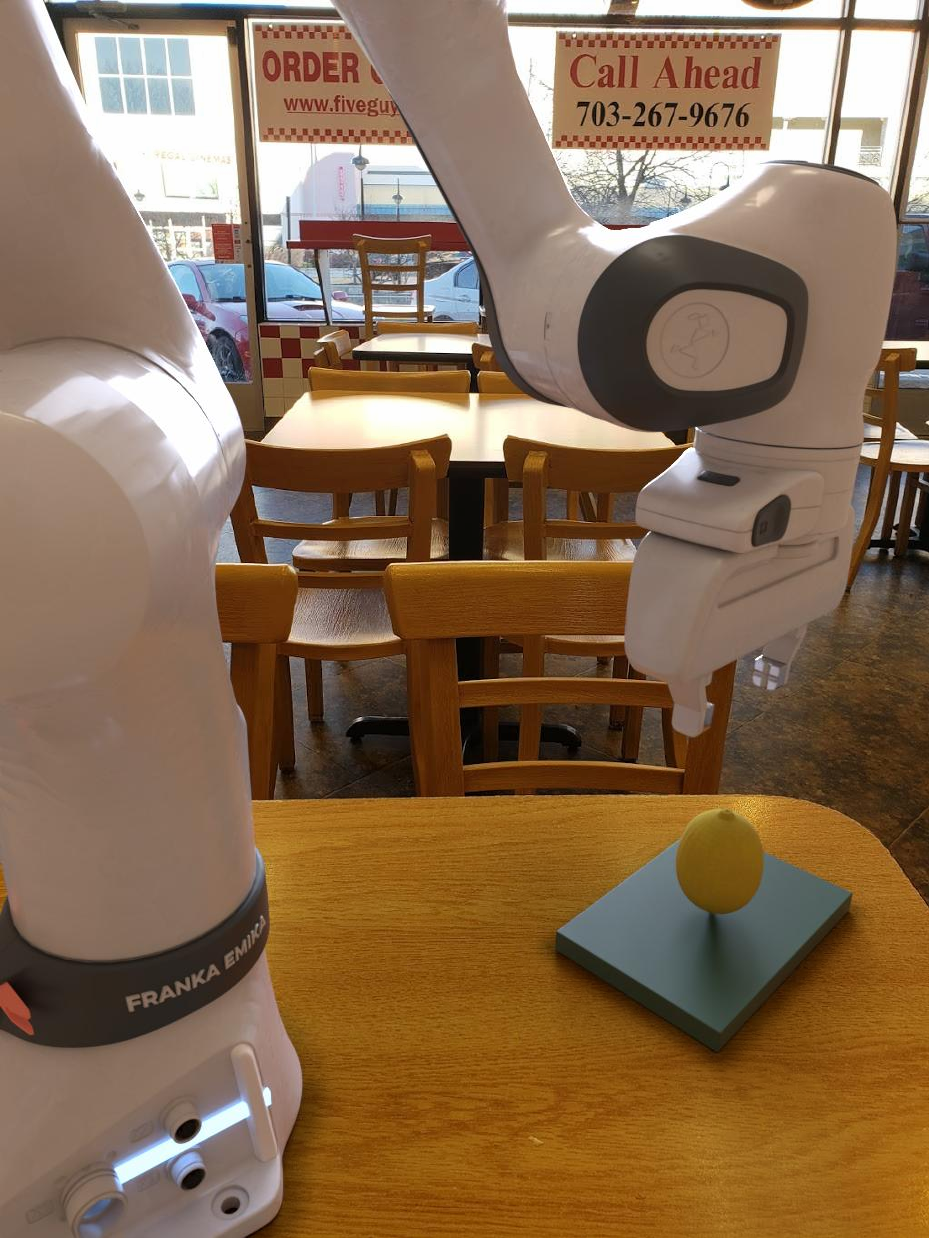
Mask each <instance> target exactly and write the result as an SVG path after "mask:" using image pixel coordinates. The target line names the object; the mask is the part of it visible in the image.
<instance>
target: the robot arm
mask: <svg viewBox="0 0 929 1238" xmlns="http://www.w3.org/2000/svg"><path fill="white" fill-rule="evenodd" d="M329 1H330V3H331V4H332V5H333V7H334V9H335V10H336V12H337V13H338V15H339V16H340V18H341V19H342V21H343V23H344V25H345V26H346V27H347V29H348V30H349V32H350V34H351V35H352V37H353V38H354V40H355V41H356V43H357V45H358V46H359V48H360V50H361V51H362V52H363V55H364V56H365V57H366V59H367V60H368V62H369V63H370V65H371V66H372V68H373V70H374V71H375V72H376V74H377V75H378V78H380V80H381V82H382V83H383V85H384V86H385V88H386V91H387V92H388V93H389V96H390V99H391V100H392V102H393V104H394V106H395V108H396V110H397V112H398V114H399V116H400V118H401V120H402V122H403V124H404V126H405V128H406V129H407V132H408V133H409V135H410V137H411V140H412V141H413V143H414V144H415V147H416V148H417V150H418V152H419V155H420V156H421V158H422V160H423V162H424V164H425V165H426V168H427V170H428V171H429V174H430V176H431V178H432V179H433V181H434V183H435V185H436V187H437V188H438V191H439V193H440V195H441V196H442V199H443V200H444V202H445V204H446V206H447V208H448V210H449V212H450V213H451V215H452V217H453V219H454V221H455V223H456V225H457V227H458V229H459V231H460V233H461V234H462V237H463V238H464V240H465V243H466V244H467V247H468V249H469V251H470V253H471V256H472V258H473V261H474V263H475V266H476V270H477V273H478V277H479V282H480V286H481V291H482V298H483V299H482V300H483V305H484V313H485V321H486V328H487V333H488V338H489V341H490V345H491V349H492V352H493V355H494V357H495V359H496V361H497V363H498V366H499V367H500V369H501V370H502V372H503V374H504V375H505V376H506V377H507V379H508V380H509V381H510V382H511V383H512V384H513V385H514V386H515V387H516V388H517V389H518V390H520V391H521V392H522V393H524V394H525V395H527V396H528V397H530V398H532V399H534V400H536V401H539V402H541V403H544V404H548V405H551V406H558V407H563V408H567V409H572V410H574V411H577V412H580V413H581V414H584V415H587V416H590V417H592V418H594V419H597V420H600V421H604V422H607V423H609V424H612V425H615V426H617V427H620V428H622V429H626V430H630V431H634V432H640V433H665V432H674V431H675V432H677V431H683V430H688V429H695V432H694V438H693V445H692V447H689V448H688V449H686V450H685V451H683V453H682V454H681V456H679V457H678V459H677V460H676V461H675V462H674V463H673V464H671V466H670V467H668V468H667V469H666V470H665V471H664V472H662V473H660V475H658V476H657V477H656V478H654V479H652V480H651V481H650V482H648V484H646V485H645V486H644V487H643V488H642V489H641V490H640V492H639V493H638V496H637V499H636V503H635V515H634V517H635V523H636V525H637V526H638V527H639V528H641V529H646V530H649V531H648V532H647V534H645V536H643V538H642V540H640V543H639V545H638V547H637V549H636V552H635V554H634V558H633V562H632V567H631V572H630V579H629V586H628V595H627V603H626V613H625V625H624V640H623V645H624V653H625V656H626V658H627V660H628V662H629V664H630V665H631V667H632V669H633V670H635V672H638V673H641V674H643V675H645V676H647V677H650V678H652V679H655V680H657V681H660V682H662V683H665V684H667V687H668V690H669V692H670V696H671V698H672V701H673V709H672V717H671V725H672V728H673V729H674V731H675V732H678V733H680V734H682V735H684V736H687V737H690V738H696V737H698V736H700V735H702V734H703V733H704V732H706V731H708V730H709V729H710V728H711V727H712V723H713V721H712V718H713V716H714V711H715V704H714V703H712V702H709V701H708V699H707V691H706V687H707V686H709V685H711V683H712V681H713V673H714V672H715V671H718V670H720V669H721V668H723V667H725V666H727V665H729V664H731V663H733V662H735V661H737V660H739V659H741V658H743V657H745V656H747V655H749V654H750V653H753V652H755V651H757V650H759V649H760V648H763V649H762V650H761V653H760V656H758V657H757V658H755V659H754V663H753V672H752V675H751V681H752V684H753V685H754V686H756V687H758V688H762V689H764V690H766V691H769V692H774V691H776V690H778V689H780V688H782V687H783V686H785V685H786V684H788V681H789V675H790V670H791V667H792V666H791V665H792V662H793V661H794V659H795V657H796V655H797V653H798V651H799V649H800V646H801V645H802V643H803V641H804V639H805V637H806V635H807V631H808V625H809V623H812V622H813V621H815V620H817V619H819V618H821V617H823V616H825V615H827V614H830V613H831V612H833V611H835V610H836V609H837V608H838V606H839V605H840V603H841V601H842V599H843V597H844V595H845V593H846V589H847V585H848V580H849V574H850V573H849V572H850V565H851V561H852V553H853V547H854V546H853V545H854V538H855V537H854V536H855V528H856V527H855V526H856V513H855V509H854V507H853V505H852V500H853V494H854V490H855V484H856V479H857V474H858V469H859V463H860V458H861V454H862V450H863V443H864V440H865V439H864V438H865V424H864V413H863V411H864V409H863V408H864V399H865V393H866V390H867V387H868V384H869V382H870V380H871V378H872V376H873V373H874V372H875V369H876V368H877V366H878V364H879V361H880V359H881V355H882V350H883V345H884V340H885V336H886V330H887V325H888V319H889V314H890V309H891V304H892V303H891V301H892V296H893V287H894V282H895V281H894V280H895V274H896V273H895V272H896V263H897V245H898V232H897V228H898V227H897V216H896V211H895V206H894V205H895V204H894V202H893V199H892V196H891V195H890V192H888V191H887V190H886V189H885V188H884V187H882V186H881V185H880V183H879V182H878V181H876V180H874V178H871V177H869V176H867V175H865V174H864V173H861V172H858V171H855V170H853V169H850V168H846V167H843V166H839V165H834V164H831V163H830V164H829V163H817V162H809V161H807V160H799V159H798V160H797V159H775V160H768V161H765V162H760V163H757V164H754V165H753V166H751V167H749V168H748V169H747V171H745V173H744V174H743V175H742V176H741V177H740V179H738V180H737V181H736V182H734V183H733V184H731V185H729V186H728V187H726V188H725V189H724V190H722V191H720V192H718V193H717V194H715V195H713V196H711V197H710V198H708V199H706V200H704V201H702V202H700V203H699V204H696V205H694V206H692V207H690V208H687V209H685V210H683V211H681V212H678V213H676V214H674V215H671V216H668V217H665V218H662V219H660V220H659V219H658V220H656V221H652V222H650V223H649V225H646V226H642V227H640V228H639V227H638V228H627V229H626V228H625V229H621V230H611V229H608V228H607V227H605V226H603V225H602V224H600V223H599V222H597V221H596V220H594V219H593V218H592V217H591V216H590V215H588V214H587V212H585V210H583V209H582V207H581V206H580V205H579V204H578V202H577V201H576V199H575V198H574V197H573V195H572V192H571V191H570V188H569V186H568V184H567V182H566V179H565V177H564V174H563V173H562V170H561V168H560V166H559V163H558V162H557V161H558V160H557V159H556V156H555V154H554V152H553V150H552V147H551V145H550V143H549V140H548V138H547V136H546V133H545V131H544V130H543V127H542V125H541V122H540V120H539V117H538V116H537V113H536V111H535V109H534V106H533V104H532V102H531V100H530V97H529V94H528V92H527V90H526V88H525V85H524V83H523V80H522V79H521V77H520V74H519V71H518V68H517V65H516V61H515V58H514V55H513V49H512V45H511V40H510V38H511V37H510V30H509V15H508V14H509V13H508V12H509V0H329ZM79 88H80V87H79V85H78V83H77V81H76V79H75V76H74V74H73V71H72V69H71V66H70V64H69V61H68V59H67V56H66V54H65V51H64V48H63V47H62V43H61V41H60V39H59V36H58V34H57V31H56V29H55V27H54V23H53V21H52V19H51V17H50V14H49V12H48V9H47V7H46V4H45V2H44V0H0V864H1V870H2V874H3V879H4V880H3V881H4V885H5V891H6V897H5V899H4V902H3V906H2V908H1V910H0V1238H246V1237H247V1236H249V1235H250V1234H253V1233H255V1232H256V1231H258V1230H260V1229H261V1228H263V1227H265V1226H266V1225H267V1224H269V1223H270V1222H271V1221H272V1220H274V1218H275V1217H276V1216H277V1214H278V1213H279V1211H280V1209H281V1206H282V1203H283V1197H284V1168H283V1156H284V1152H285V1148H286V1145H287V1142H288V1140H289V1137H290V1135H291V1133H292V1130H293V1129H294V1126H295V1123H296V1121H297V1118H298V1114H299V1112H300V1106H301V1102H302V1096H303V1072H302V1071H303V1070H302V1066H301V1061H300V1059H299V1055H298V1053H297V1051H296V1048H295V1047H294V1044H293V1043H292V1041H291V1039H290V1037H289V1035H288V1033H287V1030H286V1028H285V1025H284V1022H283V1019H282V1017H281V1014H280V1010H279V1007H278V1004H277V1000H276V996H275V991H274V988H273V983H272V979H271V975H270V970H269V964H268V958H267V952H266V951H267V950H266V945H267V943H268V939H269V935H270V931H271V930H270V928H271V920H270V904H269V893H268V883H267V876H266V866H265V861H264V858H263V856H262V853H261V851H260V850H259V848H258V847H257V846H256V843H255V828H254V813H253V799H252V786H251V784H252V783H251V774H250V773H251V772H250V759H249V758H250V757H249V742H248V725H247V721H246V718H245V715H244V713H243V711H242V709H241V707H240V705H238V702H237V699H236V696H235V692H234V688H233V684H232V680H231V676H230V671H229V667H228V661H227V658H226V652H225V648H224V643H223V637H222V632H221V631H222V629H221V625H220V618H219V614H218V605H217V593H216V568H217V567H216V565H217V558H218V553H219V545H220V540H221V535H222V533H223V528H224V526H225V524H226V523H227V520H228V518H229V516H230V515H231V513H232V511H233V509H234V507H235V505H236V502H237V500H238V498H239V496H240V493H241V491H242V487H243V484H244V479H245V475H246V468H247V466H246V465H247V448H246V447H247V446H246V439H245V435H244V433H245V432H244V428H243V424H242V420H241V417H240V414H239V412H238V411H239V410H238V409H237V406H236V403H235V402H234V399H233V398H232V396H231V393H230V392H229V390H228V389H227V386H226V385H225V383H224V380H223V379H222V376H221V374H220V372H219V370H218V367H217V366H216V363H215V361H214V359H213V357H212V355H211V353H210V351H209V347H207V344H206V342H205V339H204V338H203V336H202V334H201V331H200V329H199V327H198V325H197V323H196V321H195V319H194V317H193V315H192V313H191V311H190V309H189V307H188V305H187V303H186V300H185V299H184V296H183V295H182V293H181V291H180V288H179V287H178V284H177V282H176V281H175V278H174V277H173V275H172V272H171V271H170V269H169V267H168V265H167V263H166V261H165V259H164V258H163V255H162V253H161V252H160V250H159V248H158V246H157V244H156V242H155V240H154V238H153V236H152V234H151V232H150V231H149V228H148V227H147V225H146V223H145V221H144V219H143V218H142V216H141V213H140V212H139V209H138V208H137V207H136V204H135V203H134V201H133V199H132V197H131V195H130V193H129V192H128V189H127V188H126V186H125V184H124V182H123V181H122V178H121V176H120V175H119V173H118V171H117V169H116V168H115V165H114V163H113V161H112V159H111V157H110V155H109V153H108V151H107V148H106V146H105V145H104V143H103V141H102V138H101V136H100V134H99V132H98V130H97V127H96V125H95V123H94V120H93V118H92V116H91V114H90V111H89V109H88V107H87V104H86V102H85V100H84V98H83V95H82V93H81V91H80V89H79ZM234 1208H235V1209H237V1210H236V1211H234V1212H233V1213H225V1212H226V1211H228V1210H229V1209H234Z"/></svg>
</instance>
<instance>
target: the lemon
mask: <svg viewBox="0 0 929 1238" xmlns="http://www.w3.org/2000/svg"><path fill="white" fill-rule="evenodd" d="M679 839H680V841H679V844H678V848H677V855H676V874H677V878H678V881H679V884H680V887H681V889H682V891H683V893H684V894H685V895H686V897H687V898H688V899H689V900H690V901H691V902H692V903H693V904H694V905H695V906H697V907H698V908H700V909H702V910H704V911H707V912H709V913H710V914H728V913H732V912H735V911H738V910H739V909H741V908H742V907H744V906H746V905H747V904H748V903H749V902H750V901H751V899H752V898H753V897H754V895H755V894H756V892H757V890H758V888H759V886H760V883H761V879H762V874H763V867H764V856H763V852H764V849H763V845H762V841H761V837H760V834H759V833H758V830H757V829H756V828H755V827H754V825H753V824H752V822H751V821H749V820H748V819H747V818H746V817H745V816H743V815H742V814H740V813H739V812H736V811H734V810H731V809H730V808H725V807H723V808H713V809H708V810H705V811H702V812H701V813H699V814H698V815H696V816H694V817H693V818H692V819H691V820H690V821H689V822H688V824H687V825H686V827H685V828H684V830H683V832H682V834H681V836H680V838H679Z"/></svg>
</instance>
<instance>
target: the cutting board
mask: <svg viewBox="0 0 929 1238" xmlns="http://www.w3.org/2000/svg"><path fill="white" fill-rule="evenodd" d="M679 841H680V838H679V839H678V840H677V841H676V842H674V843H673V844H671V845H670V846H668V847H667V848H666V849H665V850H663V851H662V852H660V853H659V854H658V855H656V856H655V857H654V858H652V859H651V860H650V861H648V862H647V863H646V864H644V865H643V866H642V867H640V868H639V869H638V870H636V871H635V872H634V873H633V874H631V875H629V876H628V877H627V878H626V879H624V880H623V881H622V882H620V883H619V884H618V885H616V886H615V887H614V888H612V889H611V890H610V891H608V892H606V893H605V894H604V895H603V896H602V897H600V898H599V899H598V900H596V901H595V902H593V903H592V904H591V905H589V906H588V907H587V908H585V909H584V910H583V911H582V912H580V913H579V914H578V915H576V916H574V917H573V918H572V919H571V920H570V921H568V922H567V923H565V924H564V925H563V926H561V927H560V928H559V929H557V930H556V931H555V943H554V950H555V951H557V952H558V953H560V954H561V955H562V956H564V957H566V958H568V959H569V960H571V961H572V962H574V963H575V964H577V965H579V966H580V967H582V968H584V969H585V970H587V971H588V972H590V973H591V974H593V975H594V976H596V977H597V978H599V979H601V980H602V981H603V982H605V983H607V984H609V985H610V986H612V987H613V988H615V989H616V990H618V991H619V992H621V993H622V994H624V995H626V996H627V997H629V998H631V999H632V1000H633V1001H635V1002H637V1003H638V1004H639V1005H641V1006H643V1007H645V1008H646V1009H648V1010H649V1011H651V1012H653V1013H654V1014H655V1015H657V1016H659V1017H660V1018H661V1019H664V1020H665V1021H667V1022H668V1023H670V1024H671V1025H673V1026H675V1027H676V1028H677V1029H679V1030H680V1031H682V1032H684V1033H686V1034H687V1035H689V1036H690V1037H692V1038H693V1039H695V1040H696V1041H698V1042H700V1043H701V1044H702V1045H704V1046H706V1047H708V1048H709V1049H711V1050H712V1051H714V1052H715V1053H719V1052H720V1051H721V1050H722V1049H723V1047H725V1045H726V1044H727V1043H728V1042H729V1041H730V1040H731V1039H732V1038H733V1037H734V1036H735V1034H736V1033H738V1031H739V1030H740V1029H741V1028H742V1027H743V1026H744V1025H745V1024H746V1023H747V1021H748V1020H749V1019H750V1018H751V1017H753V1015H754V1014H755V1013H756V1012H757V1011H758V1010H759V1008H761V1006H762V1005H763V1004H764V1003H765V1002H766V1001H767V1000H768V999H769V998H770V997H771V995H772V994H773V993H774V992H776V990H777V989H778V988H779V987H780V986H781V985H782V984H783V982H784V981H785V980H786V979H788V977H789V976H790V975H791V974H792V973H793V972H794V971H795V969H797V968H798V966H799V965H800V964H801V963H803V961H804V960H805V959H806V958H807V957H808V955H809V954H810V953H811V952H812V951H813V950H814V949H815V948H816V947H817V946H818V945H819V944H820V943H821V942H822V940H823V939H824V938H825V937H826V936H827V935H828V934H829V933H830V932H831V930H832V929H833V928H835V926H836V925H838V923H839V922H840V921H841V920H842V919H843V917H844V916H845V915H846V914H847V913H848V912H849V911H850V908H851V903H852V898H853V892H851V891H849V890H847V889H845V888H843V887H840V886H838V885H836V884H834V883H832V882H830V881H828V880H825V879H823V878H821V877H819V876H817V875H815V874H813V873H811V872H808V871H806V870H804V869H802V868H799V867H797V866H795V865H794V864H791V863H789V862H786V860H785V861H784V860H782V859H781V858H778V857H776V856H775V855H772V854H769V853H767V852H765V851H763V856H764V867H763V874H762V879H761V883H760V886H759V888H758V890H757V892H756V894H755V895H754V897H753V898H752V899H751V901H750V902H749V903H748V904H747V905H746V906H744V907H742V908H741V909H739V910H738V911H735V912H732V913H728V914H710V913H709V912H707V911H704V910H702V909H700V908H698V907H697V906H695V905H694V904H693V903H692V902H691V901H690V900H689V899H688V898H687V897H686V895H685V894H684V893H683V891H682V889H681V887H680V884H679V881H678V878H677V874H676V855H677V848H678V844H679Z"/></svg>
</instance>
